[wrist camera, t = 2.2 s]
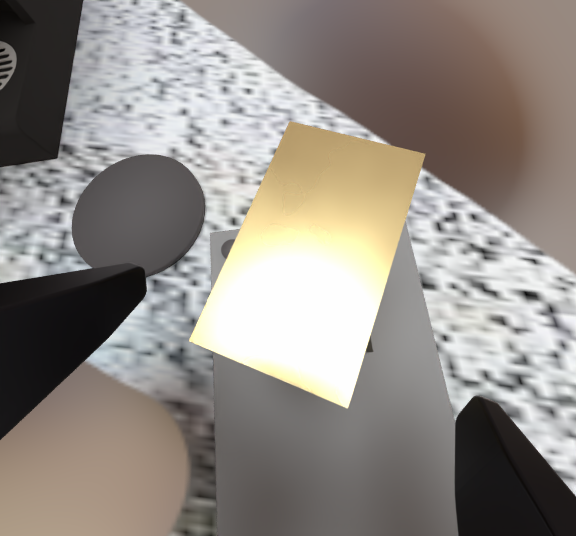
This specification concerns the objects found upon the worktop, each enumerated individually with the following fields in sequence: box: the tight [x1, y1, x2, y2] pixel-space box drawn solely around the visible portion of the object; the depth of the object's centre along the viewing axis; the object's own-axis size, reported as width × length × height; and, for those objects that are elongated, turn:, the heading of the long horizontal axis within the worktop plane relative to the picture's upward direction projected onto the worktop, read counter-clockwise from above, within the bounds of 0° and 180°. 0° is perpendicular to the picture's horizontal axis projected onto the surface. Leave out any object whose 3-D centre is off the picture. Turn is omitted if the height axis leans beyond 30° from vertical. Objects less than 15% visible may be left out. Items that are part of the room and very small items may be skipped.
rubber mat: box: [72, 155, 205, 277], centre depth 20 cm, size 9×9×1 cm
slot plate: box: [210, 221, 458, 536], centre depth 15 cm, size 18×11×2 cm, turn 6°
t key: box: [189, 121, 425, 408], centre depth 12 cm, size 6×4×11 cm, turn 159°
